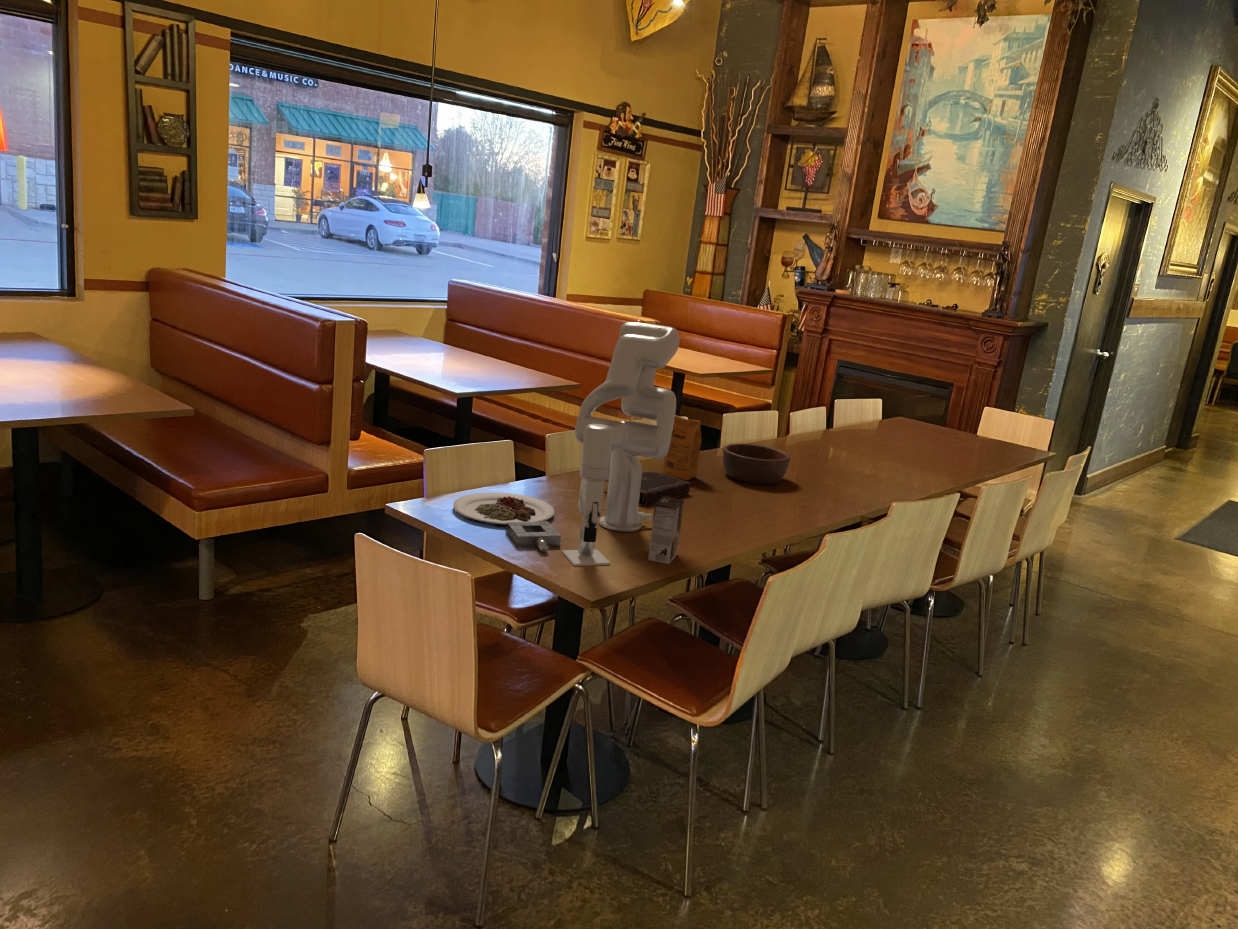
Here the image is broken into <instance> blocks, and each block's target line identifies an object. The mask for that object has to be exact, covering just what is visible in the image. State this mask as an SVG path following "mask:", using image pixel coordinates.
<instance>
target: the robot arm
mask: <svg viewBox="0 0 1238 929" xmlns="http://www.w3.org/2000/svg"><path fill="white" fill-rule="evenodd" d="M618 336H619V338H618V339H617V340H616V344H615V348H614V351H613V355H612V357H611V360H610V361H611V362H610V365H609V368H608V371H607V375H606V378H605V381H604V382H603V383H601V384H600V385H598V386H597V387H596V388H594V389H593V390H592V391H591V392H590V393H589V394H588V395H587V396H586V397H585V398H584V400H583V402H582V404H581V406H580V408H579V412H578V415H577V419H576V422H575V425H574V426H575V427H574V438H575V439H576V440H577V442H579V443H581V444H582V450H581V461H580V471H579V477H580V478H581V482H580V488H579V493H578V494H579V495H578V503H577V507H578V510H579V512H580V513H581V516H582V517H586V516H587V518H586V527H585V529H584V538H583V541H584V542H596V541H597V532H598V531H597V530H598V523H599V525H600V526H601V527H602V528H605V529H607V530H611V531H616V532H623V533H624V532H626V533H627V532H636V531H639V530H640V529H641V528H642V522H643V521H653V514H652V513H645V511H639V496H640V488H641V479H642V473H643V468H642V467H643V466H642V464H641V461H640V459H639V458H638V457H645V458H649V459H656V460H662V459H664V457H665V456H666V455H667V453H668V451H669V447H670V442H671V436H672V430H673V424H674V418H675V415H676V410H677V397H676V394H675V392H674V391H672V390H671V389H668V388H665V387H664V388H663V387H659V386H655V377H656V372H657V370H659V369H663V368H665V367H666V366H667V364H668V363H669V362H670V361H671V360H672V358H673V357H674V356H675V355H676V353H677V352H678V350H679V346H680V339H681V338H680V334H679V330H677V329H676V328H675V327H673V326H669V325H668V326H667V325H660V324H654V323H645V322H638V321H628V322H624V323H623V324H621V325H620V328H619V334H618ZM656 369H657V370H656ZM618 399H621V402H620V403H621V404H620V406H621V411H622V412H623V414H624V415H627V416H630V417H634V418H640V419H645V420H651V421H655V423H656V424H649V423H644V422H640V421H639V422H638V421H633V420H620V421H619V420H613V419H608V418H604V417H595V416H593V413H594V412H595V411H596V410H597V409H598V408H599V407H600V406H602V405H603V404H606V403H608V402H611V401H615V400H618ZM637 456H638V457H637ZM608 479H609V482H608V483H609V484H607V492H608V493H607V494H606V504H605V511H604V512H605V513H604V514H605V515H602V513H603V507H604V506H603V505H604V496H605V493H604V492H605V483H606V482H607V481H606V480H608ZM589 514H592V516H589ZM589 518H592V519H591V520H590V521H589ZM580 524H581V526H582V523H580ZM581 526H580V527H581Z"/></svg>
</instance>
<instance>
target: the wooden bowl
mask: <svg viewBox="0 0 1238 929" xmlns="http://www.w3.org/2000/svg"><path fill="white" fill-rule="evenodd" d="M722 460H723V461H722V462H723V469H724V471H725V473H726V475H727V476H728V477H729V478H731V479H733V480H736V481H739V482H742V483H746V484H751V485H752V484H753V485H761V486H765V485H766V486H770V485H771V486H772V485H776V484H778V483H780V482H781V481H782V480H783V479H784V477H785V476H786V473H787V471H788V468H789V464H790V460H791V455H790V454H789V453H787V452H786V451H783V450H781V449H778V448H774V447H770V446H766V445H759V444H751V443H731V444H727V445H725V446H723V450H722Z"/></svg>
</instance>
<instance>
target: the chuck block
mask: <svg viewBox="0 0 1238 929" xmlns="http://www.w3.org/2000/svg"><path fill="white" fill-rule="evenodd" d="M505 528H506V529H505V533H506V534H507V536H508V538H510V540H512V542H513V543H514V545H515V546H516V547H517V548H532V547H534V548H535V547H537V548H539V550H540V551H541V552H543V553H546V552H548V551H549V549H550V547H560V546H561V537H562V535H561V534H560V533H559V532H558V530H556V528H555V527H554V526H553V525H552V524H551V523H550V522H549V521H548V520H546V521H542V522H507V525H505Z"/></svg>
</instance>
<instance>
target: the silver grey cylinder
mask: <svg viewBox="0 0 1238 929" xmlns="http://www.w3.org/2000/svg"><path fill="white" fill-rule="evenodd" d="M589 516H592V514H589ZM586 518H587V516H586V517H583V516H582V518H581V524H582V526H580V535H579V542H578V549H577V550H578V553H579V554H580V555H583V556H592V555H593V552H594V549H595V542H596V541H595V542H584V541H583V538H584V529H585V527H586ZM591 519H592V518H589V521H590V520H591Z"/></svg>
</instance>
